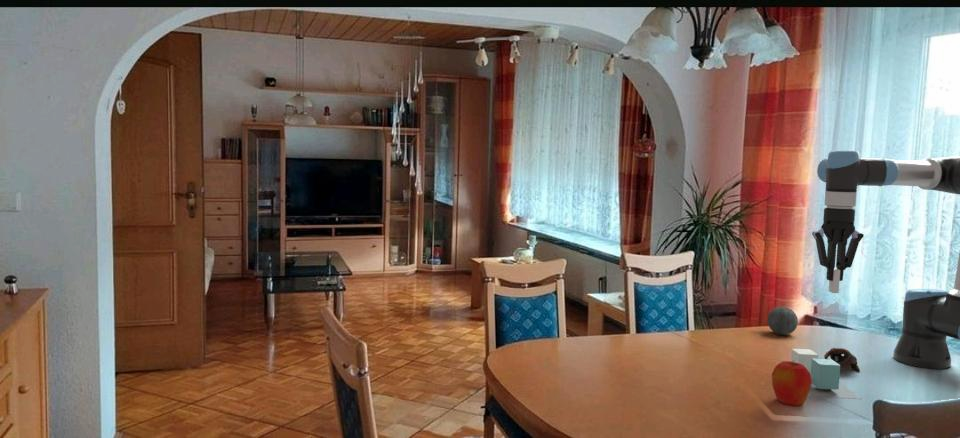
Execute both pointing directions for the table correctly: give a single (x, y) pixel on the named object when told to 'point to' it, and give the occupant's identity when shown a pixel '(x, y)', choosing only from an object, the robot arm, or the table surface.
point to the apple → (791, 383)
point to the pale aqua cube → (825, 373)
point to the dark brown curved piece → (843, 358)
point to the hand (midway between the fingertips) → (833, 292)
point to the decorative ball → (782, 320)
